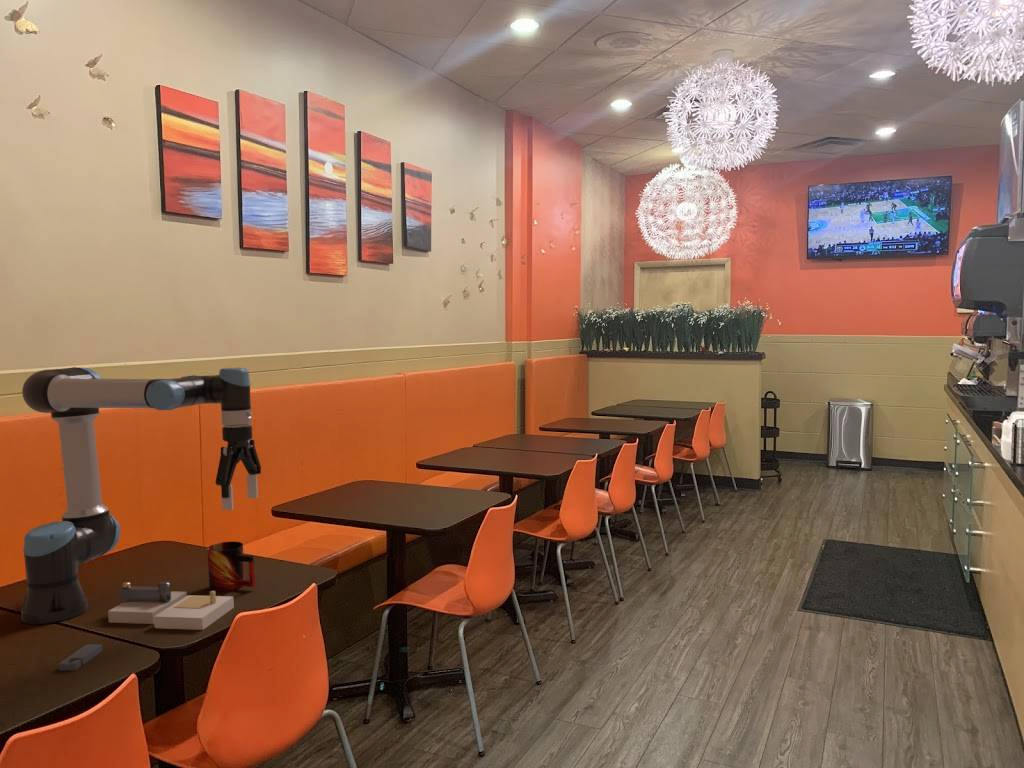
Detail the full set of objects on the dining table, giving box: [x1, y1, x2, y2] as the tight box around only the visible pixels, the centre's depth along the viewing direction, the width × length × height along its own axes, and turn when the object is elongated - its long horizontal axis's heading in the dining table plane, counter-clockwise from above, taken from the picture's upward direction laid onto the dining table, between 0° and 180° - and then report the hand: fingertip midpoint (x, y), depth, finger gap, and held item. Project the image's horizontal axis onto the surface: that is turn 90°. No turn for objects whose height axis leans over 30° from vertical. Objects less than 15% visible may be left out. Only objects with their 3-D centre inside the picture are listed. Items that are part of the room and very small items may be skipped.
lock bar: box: [119, 580, 172, 602], centre depth 199 cm, size 13×3×5 cm, turn 81°
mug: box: [206, 540, 256, 594], centre depth 218 cm, size 10×14×12 cm
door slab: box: [153, 591, 235, 631], centre depth 195 cm, size 13×15×6 cm
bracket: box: [58, 643, 103, 672], centre depth 171 cm, size 4×10×2 cm, turn 178°
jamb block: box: [107, 590, 188, 625], centre depth 200 cm, size 12×15×3 cm
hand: (240, 503), depth 204 cm, fingers open, 13 cm apart
